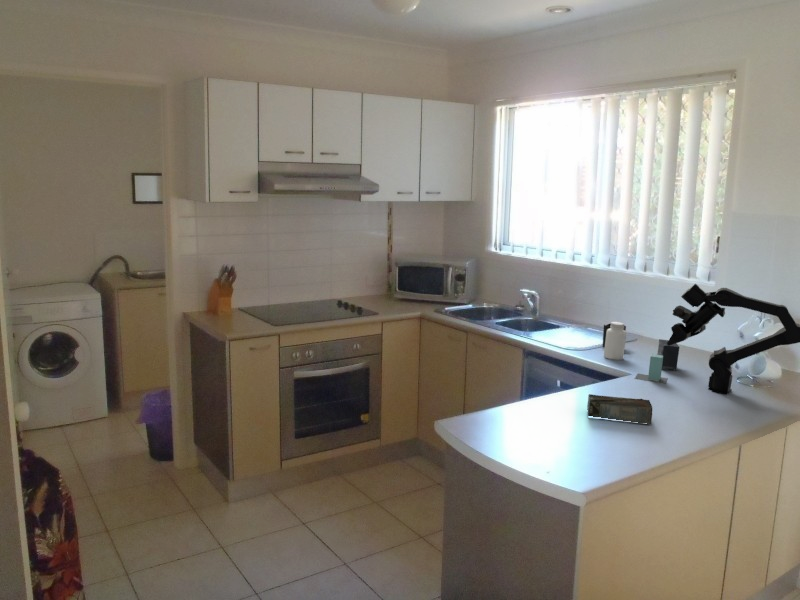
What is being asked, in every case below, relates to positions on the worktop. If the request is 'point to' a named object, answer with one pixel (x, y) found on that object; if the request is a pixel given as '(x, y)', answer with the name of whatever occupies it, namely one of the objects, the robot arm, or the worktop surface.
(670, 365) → the small box
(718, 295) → the robot arm
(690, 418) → the worktop surface
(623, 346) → the pill bottle
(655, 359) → the block
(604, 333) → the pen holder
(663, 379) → the mat
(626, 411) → the dark wooden bar
